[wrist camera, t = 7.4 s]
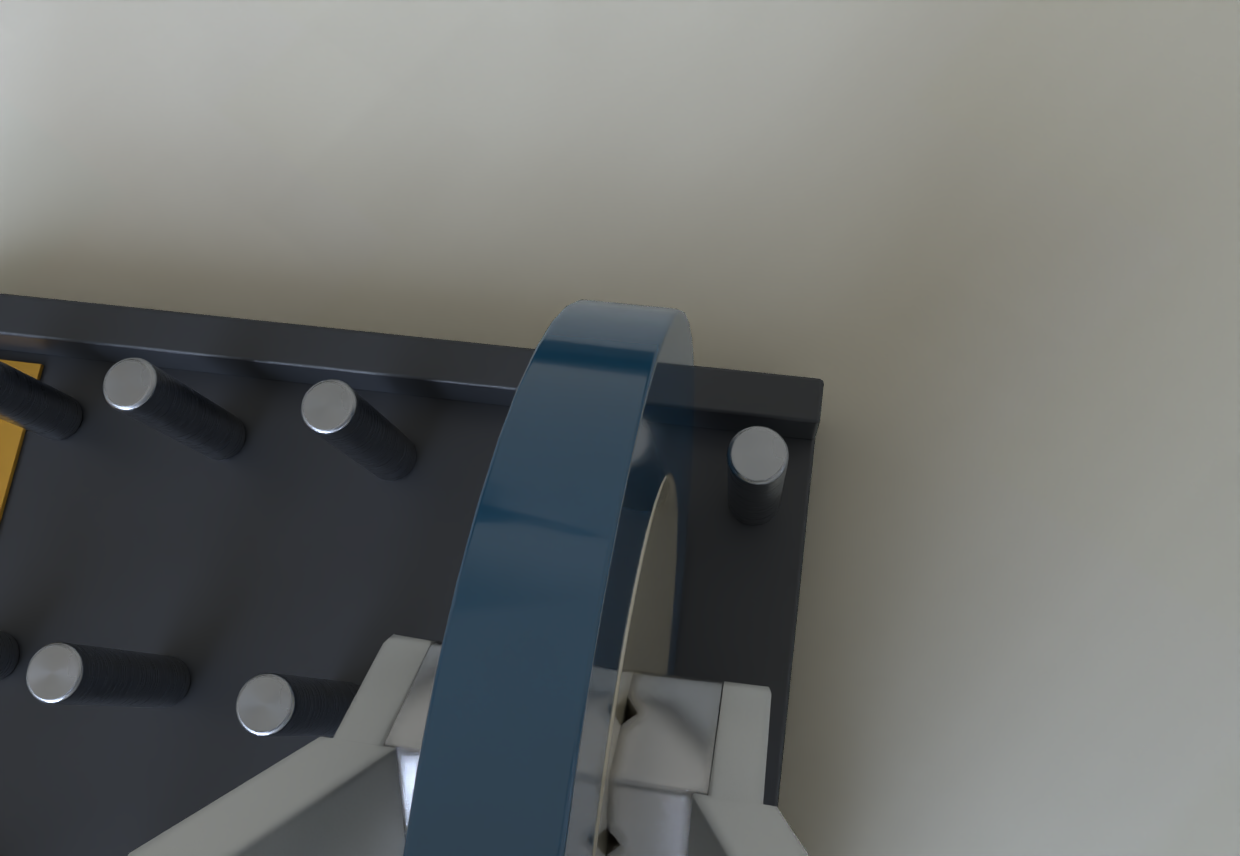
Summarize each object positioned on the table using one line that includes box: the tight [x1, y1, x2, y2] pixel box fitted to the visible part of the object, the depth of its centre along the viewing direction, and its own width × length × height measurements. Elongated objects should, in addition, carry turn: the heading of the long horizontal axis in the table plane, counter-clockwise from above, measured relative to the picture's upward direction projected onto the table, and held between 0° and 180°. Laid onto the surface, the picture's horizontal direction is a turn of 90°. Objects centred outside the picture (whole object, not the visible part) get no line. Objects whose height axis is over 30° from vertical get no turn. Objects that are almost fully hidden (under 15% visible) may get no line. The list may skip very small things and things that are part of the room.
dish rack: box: [0, 294, 824, 856], centre depth 19 cm, size 13×18×4 cm
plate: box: [403, 300, 694, 856], centre depth 14 cm, size 11×1×11 cm, turn 172°
